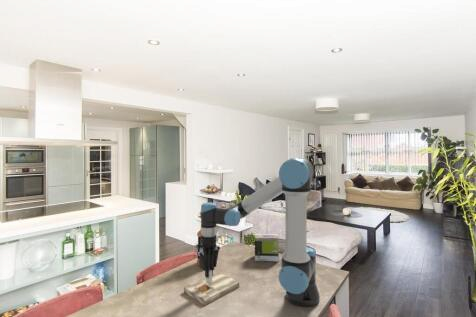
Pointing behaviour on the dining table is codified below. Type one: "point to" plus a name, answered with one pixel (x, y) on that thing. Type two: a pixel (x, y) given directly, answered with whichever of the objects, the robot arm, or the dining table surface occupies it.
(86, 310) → the dining table surface
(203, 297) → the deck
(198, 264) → the whiskey bottle
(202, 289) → the ball
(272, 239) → the tea box
